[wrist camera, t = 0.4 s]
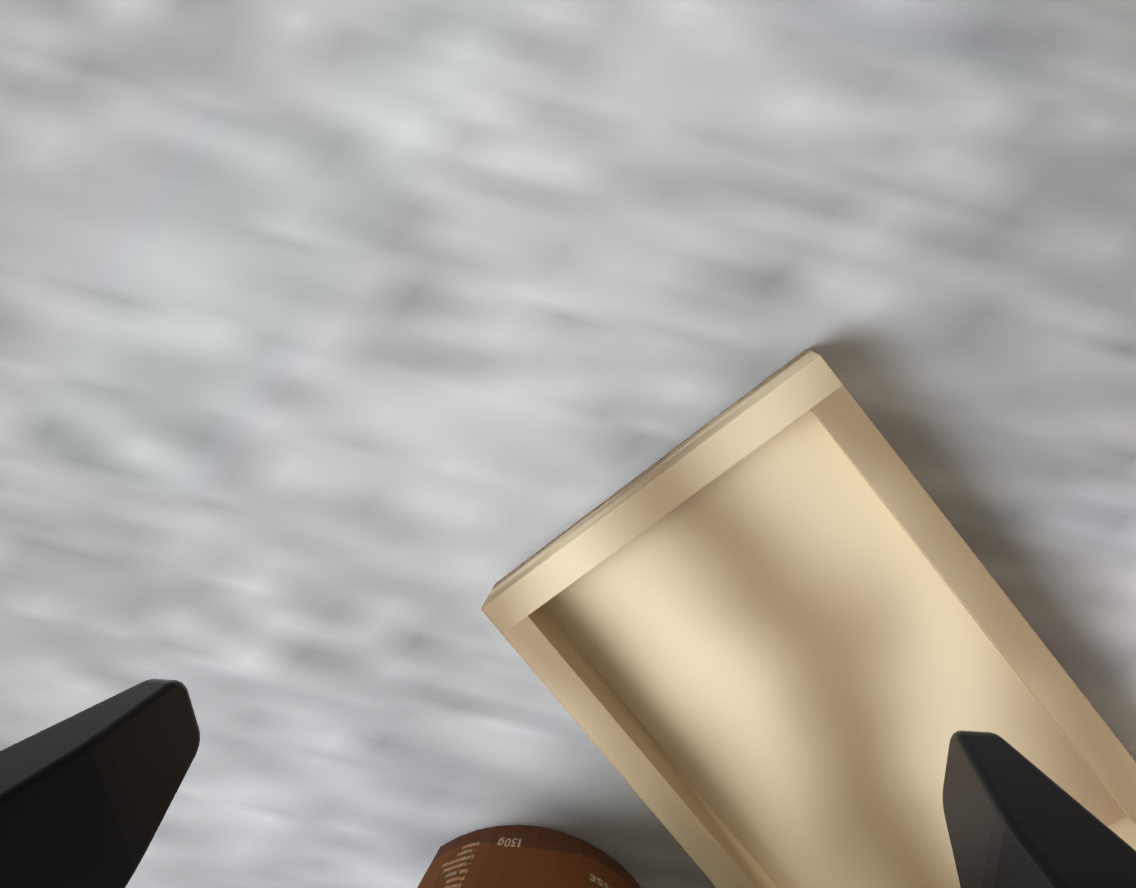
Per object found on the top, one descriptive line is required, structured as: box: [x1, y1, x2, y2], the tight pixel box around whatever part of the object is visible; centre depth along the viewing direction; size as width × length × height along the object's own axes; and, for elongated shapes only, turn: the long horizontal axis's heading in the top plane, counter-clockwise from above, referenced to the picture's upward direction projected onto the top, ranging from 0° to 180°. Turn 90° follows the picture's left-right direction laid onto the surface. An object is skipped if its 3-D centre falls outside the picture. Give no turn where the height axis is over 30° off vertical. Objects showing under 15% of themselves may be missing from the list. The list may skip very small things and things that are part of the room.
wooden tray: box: [481, 349, 1136, 888], centre depth 23 cm, size 12×18×2 cm, turn 39°
